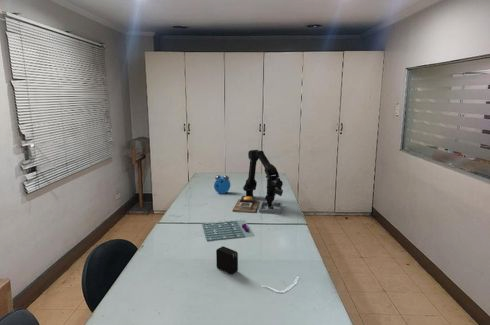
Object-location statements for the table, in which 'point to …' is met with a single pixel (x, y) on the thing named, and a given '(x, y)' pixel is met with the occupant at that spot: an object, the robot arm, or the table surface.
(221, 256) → the electronic device
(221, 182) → the alarm clock
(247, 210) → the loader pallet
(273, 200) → the cylinder
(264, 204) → the gray square frame
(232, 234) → the calendar
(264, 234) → the table surface
